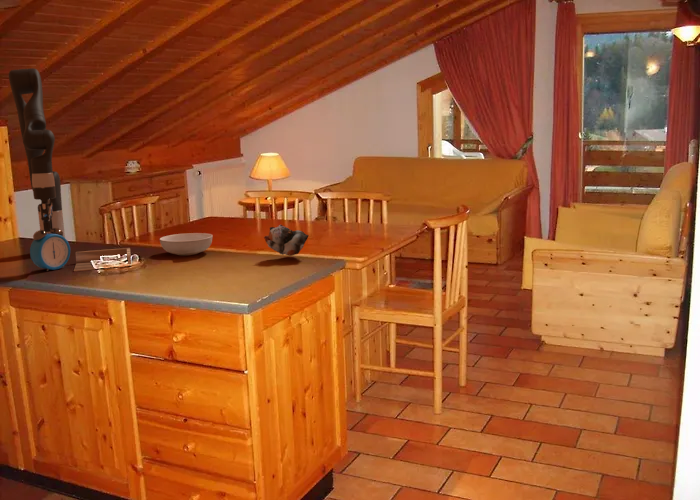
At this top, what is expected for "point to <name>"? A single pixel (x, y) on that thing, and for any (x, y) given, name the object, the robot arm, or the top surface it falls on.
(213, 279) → the top surface
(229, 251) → the top surface
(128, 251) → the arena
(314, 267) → the top surface
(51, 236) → the alarm clock
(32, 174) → the robot arm
